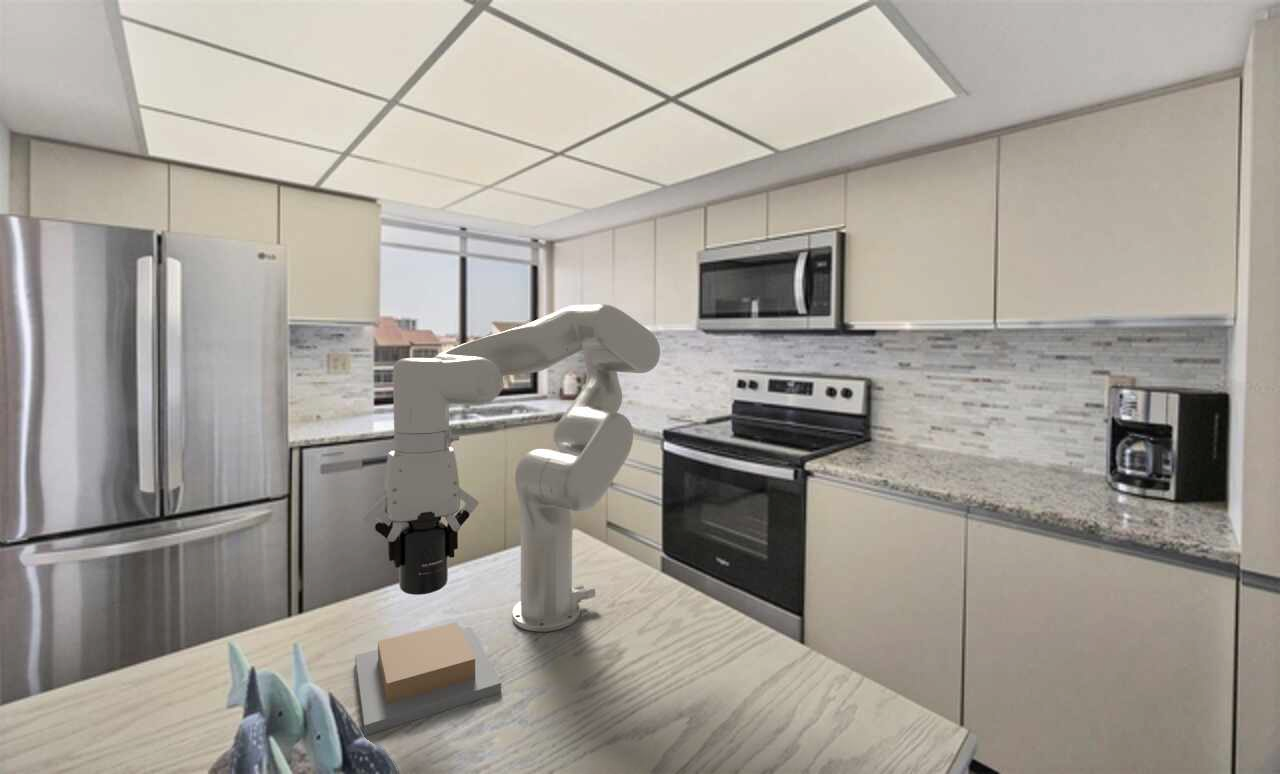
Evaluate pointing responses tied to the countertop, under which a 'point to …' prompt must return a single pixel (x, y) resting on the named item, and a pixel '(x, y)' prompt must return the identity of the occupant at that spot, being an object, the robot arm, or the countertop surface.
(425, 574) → the supplement bottle
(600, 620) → the countertop surface
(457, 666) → the pedestal
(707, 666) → the countertop surface
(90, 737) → the countertop surface
